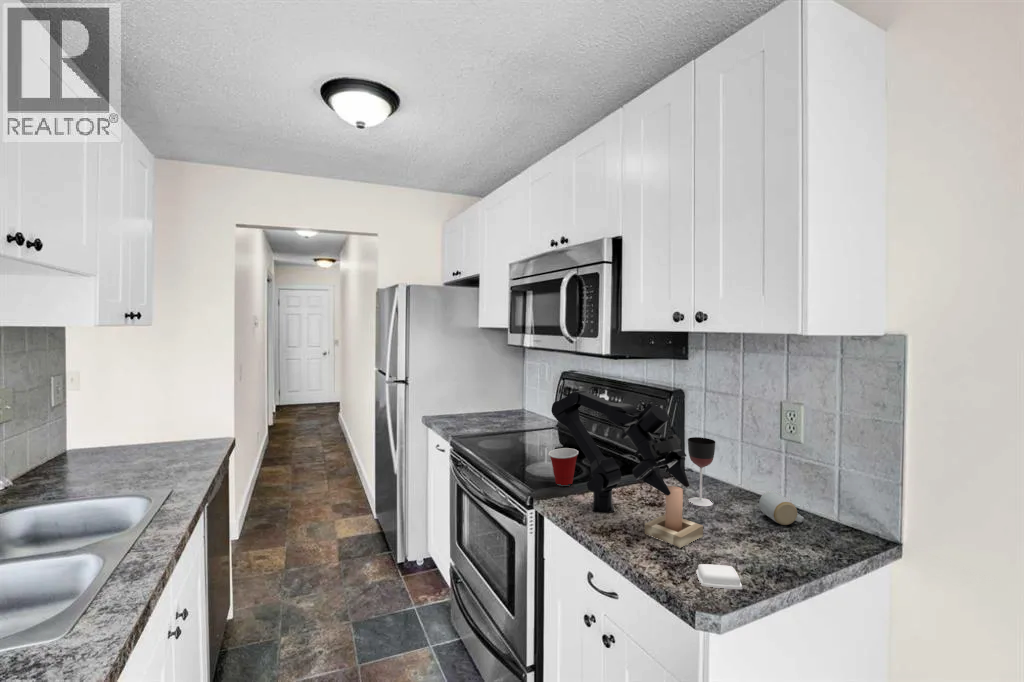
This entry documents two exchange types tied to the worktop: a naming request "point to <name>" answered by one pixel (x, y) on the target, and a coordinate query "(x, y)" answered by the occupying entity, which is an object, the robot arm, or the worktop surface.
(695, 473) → the worktop surface
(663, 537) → the socket block
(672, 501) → the dowel
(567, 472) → the plastic cup
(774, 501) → the ceramic mug
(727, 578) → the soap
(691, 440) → the wineglass
